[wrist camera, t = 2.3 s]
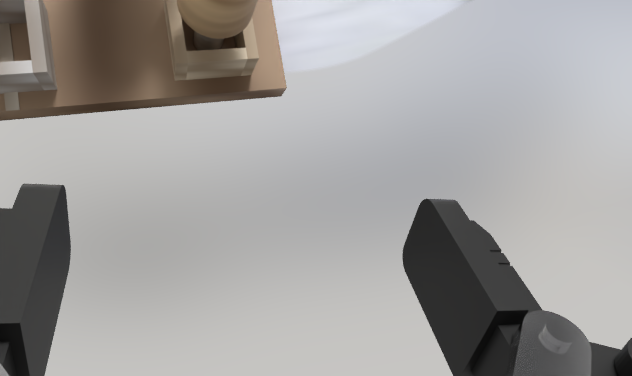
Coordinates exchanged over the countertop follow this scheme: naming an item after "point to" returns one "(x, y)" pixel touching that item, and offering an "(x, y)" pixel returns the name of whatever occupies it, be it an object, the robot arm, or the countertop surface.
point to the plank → (126, 58)
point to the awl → (215, 20)
